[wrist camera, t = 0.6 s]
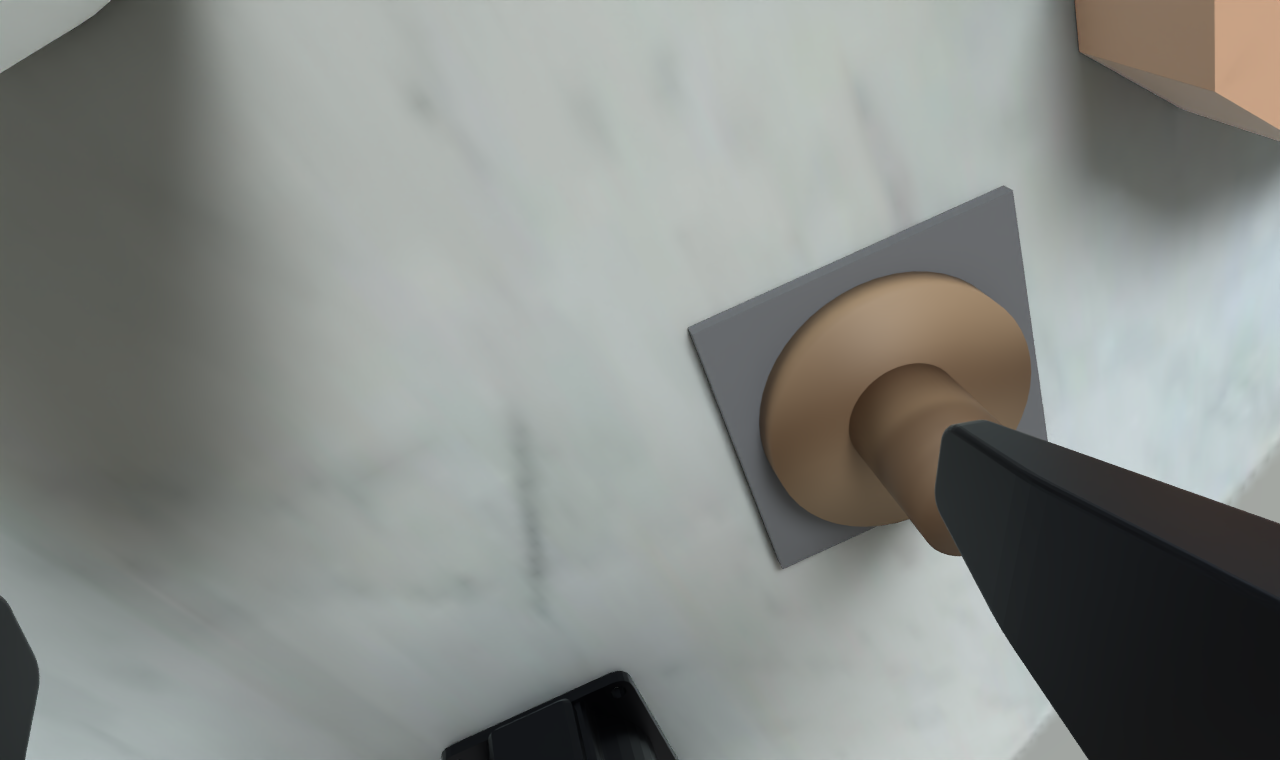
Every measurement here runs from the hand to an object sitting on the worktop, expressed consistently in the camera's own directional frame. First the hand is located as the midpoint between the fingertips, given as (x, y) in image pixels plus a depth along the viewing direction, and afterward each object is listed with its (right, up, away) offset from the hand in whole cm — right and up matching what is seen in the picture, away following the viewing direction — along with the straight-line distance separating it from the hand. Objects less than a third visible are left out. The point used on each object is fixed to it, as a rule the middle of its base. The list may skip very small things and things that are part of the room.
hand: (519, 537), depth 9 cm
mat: (+8, +1, +17) cm, 19 cm away
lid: (+8, +1, +17) cm, 19 cm away
